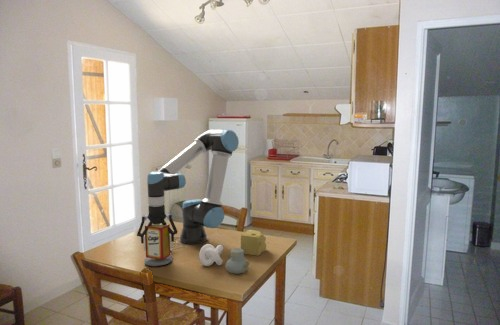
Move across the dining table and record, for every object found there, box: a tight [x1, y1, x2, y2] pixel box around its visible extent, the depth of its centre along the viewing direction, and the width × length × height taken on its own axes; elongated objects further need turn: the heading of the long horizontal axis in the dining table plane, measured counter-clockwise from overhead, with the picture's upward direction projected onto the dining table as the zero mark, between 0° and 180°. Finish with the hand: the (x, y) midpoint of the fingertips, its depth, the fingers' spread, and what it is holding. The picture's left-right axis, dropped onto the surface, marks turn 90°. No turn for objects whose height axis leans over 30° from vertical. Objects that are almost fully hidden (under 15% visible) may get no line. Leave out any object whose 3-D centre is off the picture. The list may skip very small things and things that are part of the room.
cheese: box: [240, 229, 267, 257], centre depth 191 cm, size 10×11×10 cm
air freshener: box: [225, 247, 250, 275], centre depth 166 cm, size 11×8×10 cm
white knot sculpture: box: [198, 243, 224, 267], centre depth 174 cm, size 11×12×9 cm
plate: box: [143, 255, 173, 267], centre depth 178 cm, size 13×13×1 cm
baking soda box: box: [144, 223, 171, 260], centre depth 176 cm, size 10×6×16 cm
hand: (158, 248), depth 177 cm, fingers closed on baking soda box, 11 cm apart
